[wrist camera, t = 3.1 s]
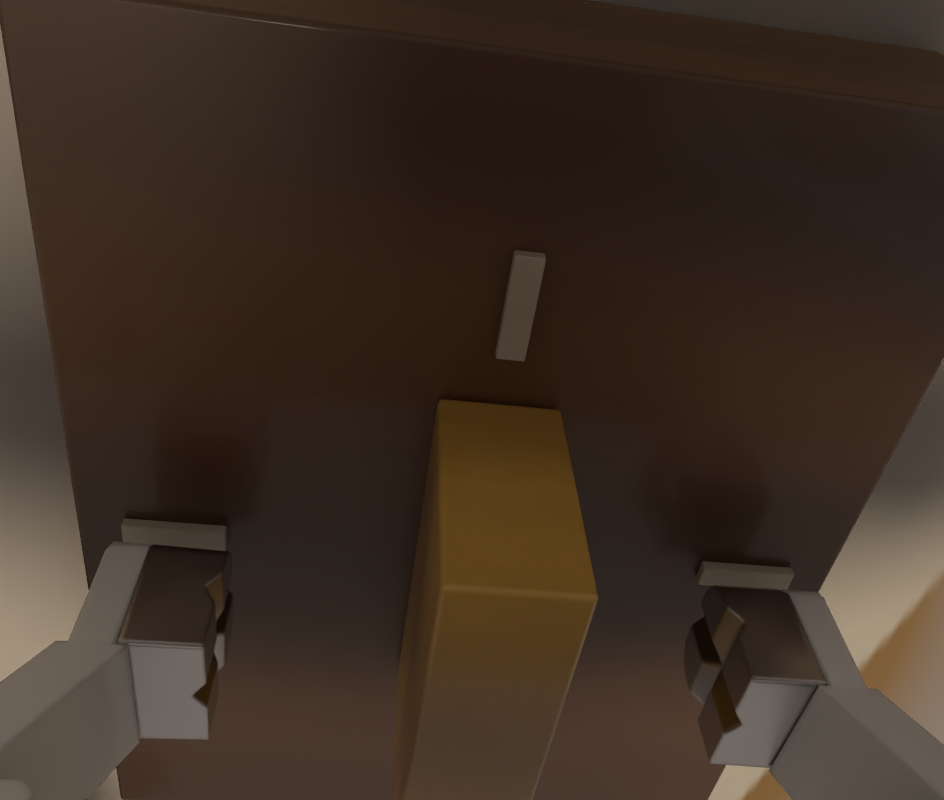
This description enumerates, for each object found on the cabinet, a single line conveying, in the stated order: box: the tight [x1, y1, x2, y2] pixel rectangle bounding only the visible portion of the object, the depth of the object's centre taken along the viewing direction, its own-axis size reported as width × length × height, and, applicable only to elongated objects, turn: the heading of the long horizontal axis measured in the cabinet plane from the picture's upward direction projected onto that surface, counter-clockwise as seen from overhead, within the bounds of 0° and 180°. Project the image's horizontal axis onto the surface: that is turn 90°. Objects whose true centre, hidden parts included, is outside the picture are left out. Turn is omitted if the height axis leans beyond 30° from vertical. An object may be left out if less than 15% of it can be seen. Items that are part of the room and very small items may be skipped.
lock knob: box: [393, 399, 598, 800], centre depth 12 cm, size 6×2×3 cm, turn 172°
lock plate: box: [0, 0, 944, 800], centre depth 14 cm, size 14×11×3 cm
